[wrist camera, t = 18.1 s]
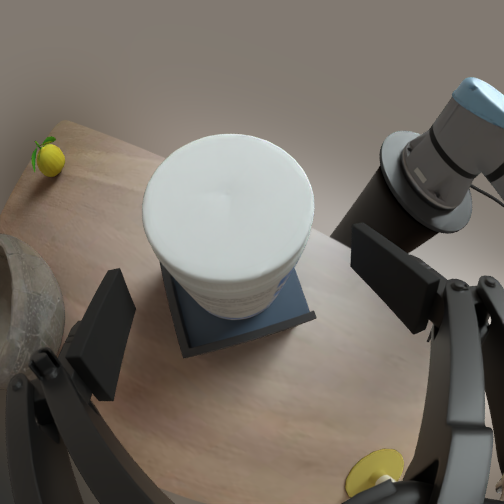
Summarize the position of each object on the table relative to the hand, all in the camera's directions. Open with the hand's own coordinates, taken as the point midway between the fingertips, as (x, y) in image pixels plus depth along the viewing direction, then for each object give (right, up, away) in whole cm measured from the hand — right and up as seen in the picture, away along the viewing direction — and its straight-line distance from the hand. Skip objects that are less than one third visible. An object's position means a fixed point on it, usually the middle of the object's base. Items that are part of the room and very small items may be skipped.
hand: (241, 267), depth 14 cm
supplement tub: (-1, -1, +13) cm, 13 cm away
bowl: (-33, -10, +17) cm, 39 cm away
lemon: (-37, +16, +27) cm, 48 cm away
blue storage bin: (-2, -4, +20) cm, 21 cm away
